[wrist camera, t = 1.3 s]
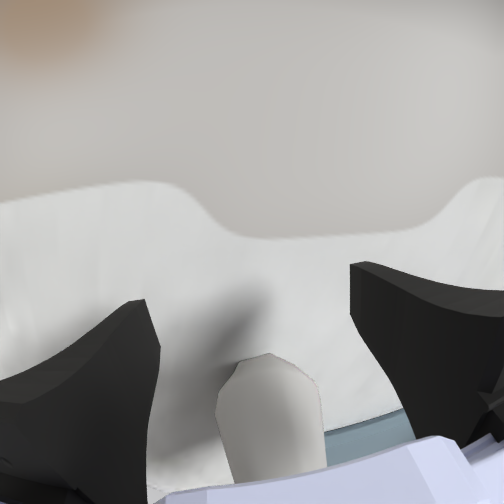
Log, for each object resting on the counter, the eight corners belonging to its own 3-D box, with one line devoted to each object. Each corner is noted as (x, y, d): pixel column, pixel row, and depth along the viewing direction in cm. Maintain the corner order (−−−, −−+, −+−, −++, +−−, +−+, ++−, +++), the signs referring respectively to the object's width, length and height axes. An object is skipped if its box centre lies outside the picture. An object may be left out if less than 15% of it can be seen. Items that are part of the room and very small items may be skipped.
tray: (455, 386, 21) (464, 397, 20) (421, 466, 26) (426, 475, 25) (300, 437, 21) (304, 452, 19) (304, 503, 26) (306, 514, 24)
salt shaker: (296, 411, 20) (345, 585, 7) (211, 408, 19) (219, 601, 7) (320, 343, 18) (412, 551, 6) (220, 337, 17) (236, 587, 5)
